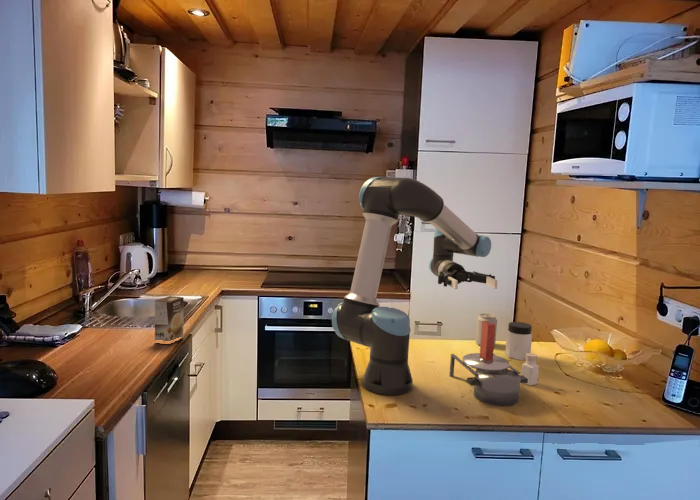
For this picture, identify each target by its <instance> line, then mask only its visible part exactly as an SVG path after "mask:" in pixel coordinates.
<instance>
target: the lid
mask: <svg viewBox="0 0 700 500" xmlns="http://www.w3.org/2000/svg"><path fill="white" fill-rule="evenodd" d="M494 337H495V324H494V323H492V322H490V321H482V332H481V345H480V346H479V352H476V353H475V352H473V353H468V354H464V355H463V357H462V361H463V363H464V364H466V365H467V366H469V367H470V368H471V369H475V370H476V369H479V370H484V371H503V370H506V369H510V368H509V365H510V362H509V360H508V359H506V358H504V357H501V356H498V355H496V354H495V355H493V354H494V349H495V345H494Z"/></svg>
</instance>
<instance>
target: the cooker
mask: <svg viewBox="0 0 700 500" xmlns="http://www.w3.org/2000/svg"><path fill="white" fill-rule="evenodd" d="M493 355H496V354H495V353H493ZM455 361H457V362H458V363H460V365H461V366H462V367H464V368H465V369H467V371H469V372H470V373H471V374H472V375H473V376H474V377H471V376H470V377H466V383H468V384H469V385H470V386H473V396H474V398H475V399H476V400H478V401H480V402H481V403H484V404H486V405H491V406H495V407H512V406H516V405H518V403H520V402H519V401H520V391H521V384H524V383H528V379H527V378H526V377H524V376H523V375H521V371H519V370H517V369H516V368H515V367H513V366H512V365H510V364H509V368H508V369H506V370H503V371H484V370H479V369H475V370H474V369H473V368H472V367H469V366H467V365H466V364H464V363H463V359H462V360H461V359H460V358H459V357H458V356H457V355H456V354H454V353H450V362H449V377H450V378H451V377H454V375H455Z"/></svg>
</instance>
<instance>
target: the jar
mask: <svg viewBox="0 0 700 500" xmlns="http://www.w3.org/2000/svg"><path fill="white" fill-rule="evenodd" d="M532 330H533V326H532V324H530V323H527V322H522V321H510V322H509V323H508V327H507V330H506V342H505V353H504V354H505V355H506V356H507V358H509V359H514V360H518V361H524V360H525V361H526V354H527V353H532V340H533V333H532Z"/></svg>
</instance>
